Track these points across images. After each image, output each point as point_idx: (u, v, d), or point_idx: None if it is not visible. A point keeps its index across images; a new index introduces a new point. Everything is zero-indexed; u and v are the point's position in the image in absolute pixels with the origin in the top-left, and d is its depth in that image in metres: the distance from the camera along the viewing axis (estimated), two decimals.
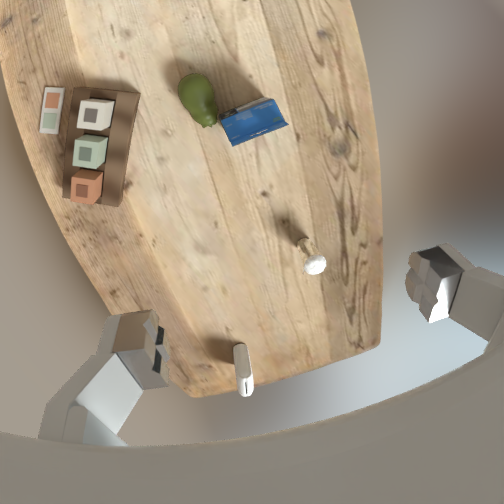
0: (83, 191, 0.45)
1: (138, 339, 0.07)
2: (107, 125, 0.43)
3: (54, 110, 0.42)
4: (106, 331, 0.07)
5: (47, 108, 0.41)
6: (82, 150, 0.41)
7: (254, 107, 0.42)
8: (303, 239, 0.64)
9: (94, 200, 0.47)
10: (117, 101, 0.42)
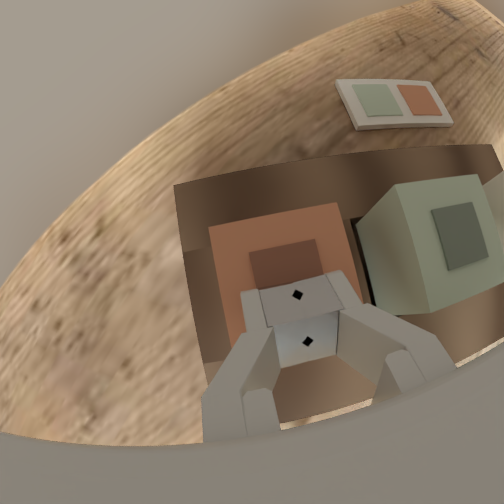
0: None
1: (295, 310, 0.07)
2: None
3: (405, 108, 0.18)
4: (248, 306, 0.08)
5: (398, 90, 0.19)
6: (465, 217, 0.09)
7: None
8: None
9: None
10: None
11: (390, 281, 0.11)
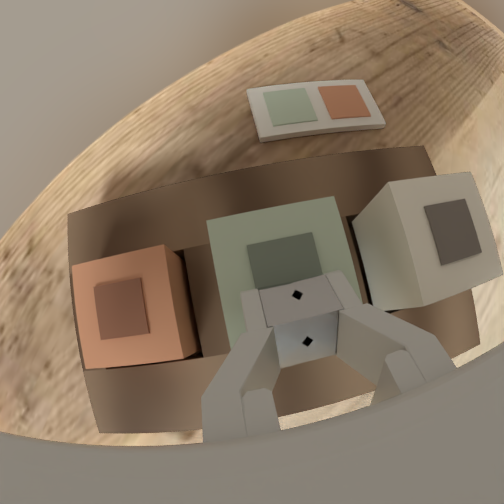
0: (120, 317, 0.11)
1: (295, 310, 0.07)
2: None
3: (322, 112, 0.18)
4: (248, 306, 0.08)
5: (319, 92, 0.19)
6: (299, 251, 0.10)
7: None
8: None
9: None
10: (450, 298, 0.13)
11: None
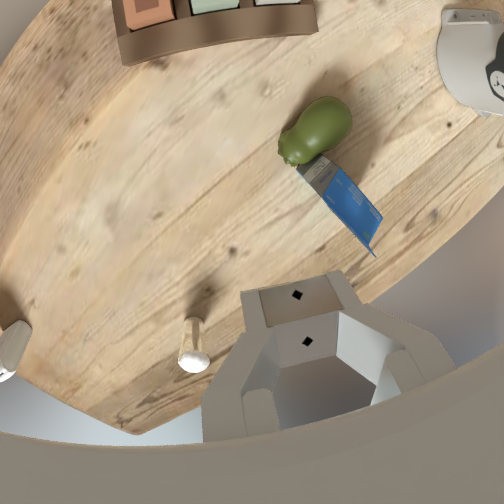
0: (145, 3, 0.20)
1: (295, 310, 0.07)
2: (261, 1, 0.22)
3: None
4: (248, 306, 0.08)
5: None
6: None
7: (368, 201, 0.31)
8: (200, 321, 0.47)
9: (133, 25, 0.22)
10: (299, 6, 0.24)
11: None
